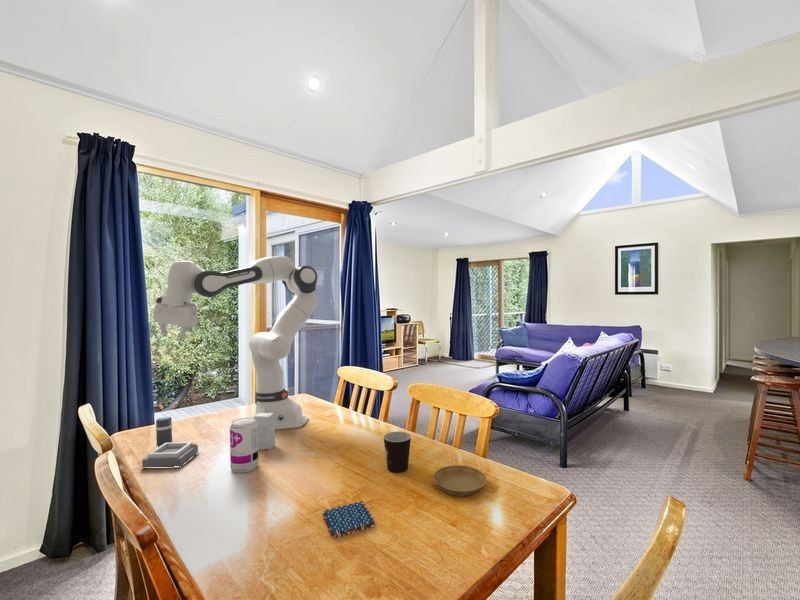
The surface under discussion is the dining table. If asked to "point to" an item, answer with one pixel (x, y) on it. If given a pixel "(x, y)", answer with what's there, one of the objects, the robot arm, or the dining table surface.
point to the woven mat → (348, 519)
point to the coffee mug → (397, 451)
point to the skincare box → (265, 430)
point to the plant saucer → (460, 480)
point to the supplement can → (244, 445)
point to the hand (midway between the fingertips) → (172, 336)
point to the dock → (170, 454)
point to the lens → (163, 430)
